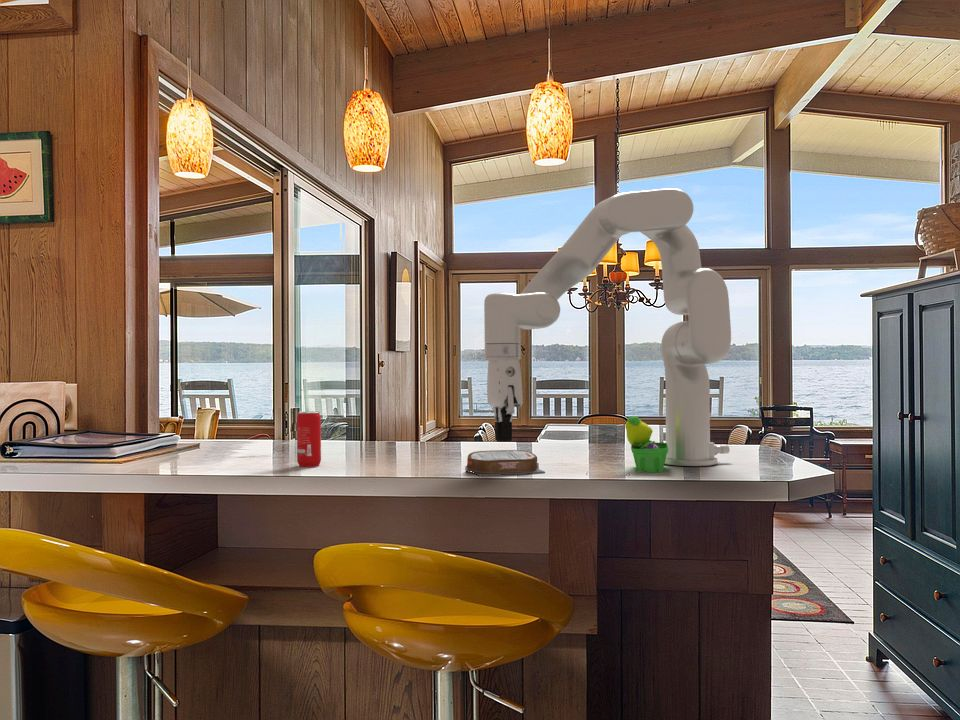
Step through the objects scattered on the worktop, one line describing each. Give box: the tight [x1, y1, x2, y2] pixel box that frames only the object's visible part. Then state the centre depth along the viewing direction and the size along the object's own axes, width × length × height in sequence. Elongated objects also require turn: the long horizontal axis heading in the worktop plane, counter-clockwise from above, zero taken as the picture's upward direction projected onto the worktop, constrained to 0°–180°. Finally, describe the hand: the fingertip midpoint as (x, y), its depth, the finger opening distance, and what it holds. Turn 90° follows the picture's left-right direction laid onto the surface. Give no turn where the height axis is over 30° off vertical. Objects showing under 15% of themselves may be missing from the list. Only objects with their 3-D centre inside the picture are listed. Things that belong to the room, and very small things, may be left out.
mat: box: [464, 462, 546, 476], centre depth 160 cm, size 16×7×1 cm, turn 107°
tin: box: [466, 449, 538, 473], centre depth 161 cm, size 15×3×8 cm
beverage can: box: [296, 410, 322, 468], centre depth 172 cm, size 5×5×12 cm
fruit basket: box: [624, 415, 669, 473], centre depth 164 cm, size 11×9×11 cm
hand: (503, 440), depth 161 cm, fingers closed
